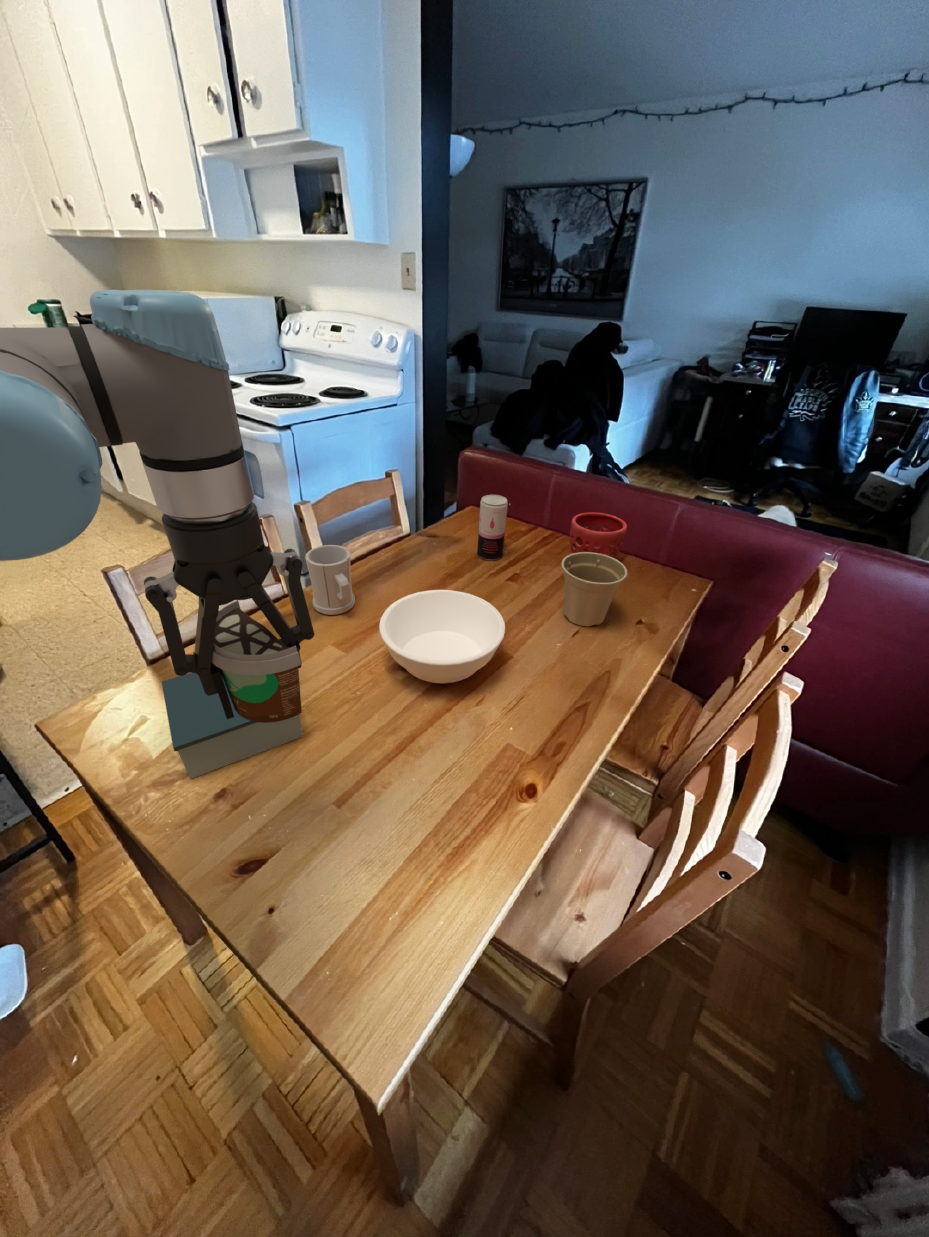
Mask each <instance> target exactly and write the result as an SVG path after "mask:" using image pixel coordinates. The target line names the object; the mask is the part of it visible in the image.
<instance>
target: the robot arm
mask: <svg viewBox="0 0 929 1237" xmlns="http://www.w3.org/2000/svg"><path fill="white" fill-rule="evenodd" d="M89 307H90V310H91V315H90V318H91V322H92V323H87V324H85V323H84V324H80V325H74V326H73V325H69V326H67V327H0V562H9V561H20V560H21V561H22V560H29V559H33V558H37V557H40V556H41V557H42V556H44V555H47V554H50V553H52V552H55V551H57V550H60V549H62V548H64V547H65V546H67V545H69V544H70V543H71V542H73V541H74V540H76V539H77V538H78V537H80V535H81V534H83V533H84V532H85V531H86V529H88V527H89V526H90V524H91V523H92V522H93V520H94V518H95V516H96V514H97V512H98V509H99V506H100V503H101V498H102V473H101V469H102V467H103V457H102V452H101V448H105V447H115V446H123V444H132V443H135V444H136V447H137V449H138V451H139V456H140V460H141V462H142V466H143V469H144V473H145V475H146V477H147V478H146V479H147V481H148V484H149V487H150V490H151V493H152V495H153V496H152V497H153V499H154V502H155V505H156V507H157V509H158V511H159V512H161V513H162V515H161V522H162V526H163V529H164V531H165V534H166V538H167V541H168V544H169V546H170V549H171V550H170V551H171V553H172V556H173V558H174V562H173V565H172V572H169V573H167V574H165V575H162V576H160V577H157V576H156V577H155V576H152V575H151V576H147V577H145V578H144V580H143V588H144V593H145V594H144V595H145V599H146V600H147V601H148V602H149V603H150V605H151V606H152V607H153V608H154V609H155V610H156V611H157V613H158V616H159V620H160V624H161V627H162V630H163V634H164V639H165V641H166V646H167V650H168V653H169V657H170V661H171V664H172V667H173V671H174V673H175V675H177V676H183V675H186V674H189V673H192V672H193V673H196V674H198V675H199V678H200V680H201V683H202V686H203V689H204V692H205V694H207V695H208V696H210V695H214V694H217V693H218V694H219V697H220V700H221V703H222V706H223V709H224V712H225V715H226V718H227V719H230V718H233V717H234V714H233V711H232V707H231V704H230V700H229V697H228V694H227V691H226V688H225V685H224V681H223V678H222V675H221V672H220V669H219V668H218V667H217V666H215V665H214V664H213V663H212V653H213V645H214V636H215V627H216V619H217V617H218V612H219V610H220V607H221V606H226V605H228V604H230V603H232V602H235V601H237V600H238V601H246V600H250V599H251V600H252V601H253V602H254V604H255V605H256V606H257V607H258V609H259V611H261V613H262V614H263V615H264V618H266V619H267V621H268V623H269V624H270V625H271V626H272V628H273V629H274V630H275V633H277V636H278V637H279V638H278V639H279V640H280V641H281V642H282V643H283V644H284V645H286V646H287V647H288V648H291V647H294V646H296V648H297V652H298V653H299V656H300V660H301V661H302V659H301V652H300V651H301V643H302V642H303V641H309V640H312V639H313V638H314V637H315V631H314V626H313V623H312V618H311V616H310V611H309V607H308V605H307V604H308V603H307V600H306V597H305V592H304V588H303V585H302V580H301V578H302V571H303V564H304V563H303V561H302V560H301V558H300V556H299V554H298V553H297V552H296V550H295V549H293V548H287V549H286V550H284V551H283V552H277V551H276V552H273V551H271V550H270V549H269V547H267V546H266V544H265V539H264V534H263V530H262V525H261V520H260V517H259V516H260V515H259V510H258V507H257V505H256V503H255V502H253V500H254V499H255V492H254V486H253V483H252V478H251V474H250V468H249V465H248V462H247V461H248V460H247V455H246V451H245V449H244V448H245V447H244V444H243V439H242V434H241V429H240V425H239V418H238V414H237V408H236V402H235V399H234V393H233V389H232V383H231V378H230V373H229V371H230V370H231V369H230V364H229V363H228V361H227V358H226V355H225V351H224V347H223V344H222V340H221V336H220V333H219V329H218V325H217V321H216V318H215V315H214V311H213V310H212V308H211V306H210V305H209V304H208V303H207V302H206V300H205V299H204V298H203V297H201V296H199V295H197V294H194V293H191V292H187V291H180V290H179V291H178V290H164V289H163V290H162V289H102V290H96V291H94V292H93V293H91V295H90V297H89ZM272 567H275V568H276V570H277V572H278V574H279V575H280V576H282V577H283V581H284V585H285V587H286V588H285V589H286V591H287V595H288V598H289V602H290V605H291V609H292V612H293V615H294V616H293V617H294V619H295V623H296V625H294V626H292V627H291V626H290V625H289V623H288V622H287V620H286V619H285V617H284V616H283V614H282V612H280V610H279V608H278V607H277V605H276V604H275V602H274V601H273V599H272V598H271V597H270V595H269V594H268V592H267V590H265V587H264V586H263V583H264V582H265V580H266V578H267V576H268V574H269V572H270V571H271V569H272ZM179 586H180V587H182V588H184V589H185V590H187V591H188V592H190V593H191V594H193V595H195V596H196V597H197V598H198V610H197V620H196V631H195V641H194V651H193V652H192V653H190V654H189V653H187V654H186V650H185V646H184V642H183V638H182V634H181V630H180V626H179V623H178V619H177V613H176V611H175V606H174V603H173V602H174V600H176V599H177V596H178V595H177V594H178V593H177V591H176V590H177V587H179ZM302 664H303V663H302V662H301V665H299V666H298V669H301V668H302Z"/></svg>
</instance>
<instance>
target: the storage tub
mask: <svg viewBox="0 0 929 1237" xmlns="http://www.w3.org/2000/svg"><path fill="white" fill-rule="evenodd" d="M222 678H223V677H222ZM223 681H224V680H223ZM224 685H225V683H224ZM161 686H162V693H163V698H164V699H163V700H164V705H165V709H166V714H167V721H168V726H169V733H170V738H171V744H172V749H173V750H174V752H178V754H179V757H180V759H181V761H182V763H183V766H184V768H185V770H186V773H187V775H188V777H189V779H190V780H192V779H195V778H197V777H199V776H202V775H206V774H208V773H210V772H213V771H215V770H218V769H221V768H223V767H226V766H228V765H231V764H233V763H236V762H239V761H242V760H245V759H247V758H250V757H252V756H255V755H257V754H260V753H263V752H265V751H268V750H270V749H274V748H277V747H278V746H281V745H284V744H287V743H289V742H291V741H295V740H297V739H300V738H303V737H304V732H303V728H302V723H301V719H300V714H298V715H297V716H294V717H292V718H289V719H286V720H283V721H278V722H270V723H261V722H254V721H250V720H247V719H245V718H243V717H241V716H240V715H239V714H238V713H237V712H236V711H235V709H234V706H233V703H232V701H231V698H230V696H229V693H228V690H227V688H226V685H225V688H226V691H227V694H228V697H229V700H230V704H231V707H232V711H233V714H234V717H233V718H230V719H227V718H226V715H225V712H224V709H223V706H222V703H221V700H220V697H219V694H218V693H217V694H214V695H210V696H208V695H207V694H205V692H204V689H203V686H202V683H201V680H200V678H199V675H198V674H196V673H193V672H189V673H187V674H186V675H183V676H179V675H177V676H175V677H172V678H168V679H165V680H162V681H161Z"/></svg>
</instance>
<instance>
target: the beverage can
mask: <svg viewBox="0 0 929 1237" xmlns="http://www.w3.org/2000/svg"><path fill="white" fill-rule="evenodd" d="M508 505H509V503H508V499H507V497H505V496H503V495H500V494H487V495H483V496H482V497H481V500H480V505H479V519H478V532H477V534H478V536H477V547H476V548H477V550H476V554H477V556H479V557H480V558H481V559H483V560H485V561H497V560H499V559H500V558H502V557H503V555H504V544H505V534H506V525H507V515H508Z"/></svg>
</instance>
